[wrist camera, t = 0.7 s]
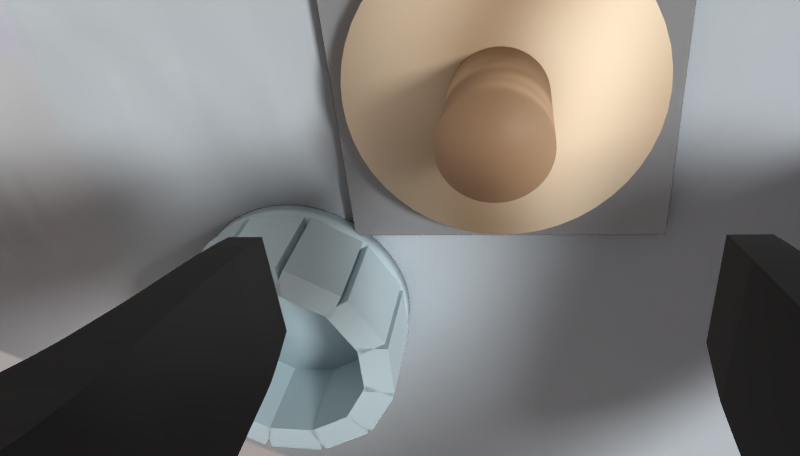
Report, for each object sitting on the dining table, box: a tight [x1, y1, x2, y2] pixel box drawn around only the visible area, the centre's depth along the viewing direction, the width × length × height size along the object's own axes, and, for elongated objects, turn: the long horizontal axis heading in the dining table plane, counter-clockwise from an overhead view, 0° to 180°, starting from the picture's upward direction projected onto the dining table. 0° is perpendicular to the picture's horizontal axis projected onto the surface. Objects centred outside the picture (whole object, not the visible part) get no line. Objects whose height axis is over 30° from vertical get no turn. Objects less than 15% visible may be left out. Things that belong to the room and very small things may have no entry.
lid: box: [341, 0, 673, 235], centre depth 16 cm, size 9×9×4 cm
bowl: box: [201, 205, 410, 450], centre depth 22 cm, size 8×8×4 cm
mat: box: [317, 0, 696, 235], centre depth 18 cm, size 10×10×1 cm
